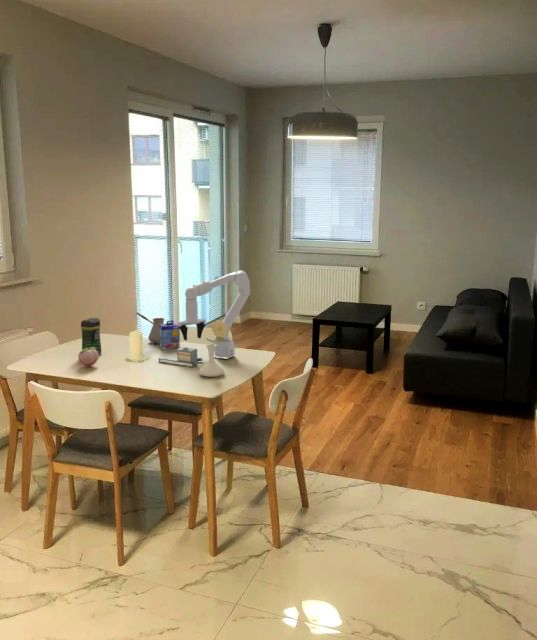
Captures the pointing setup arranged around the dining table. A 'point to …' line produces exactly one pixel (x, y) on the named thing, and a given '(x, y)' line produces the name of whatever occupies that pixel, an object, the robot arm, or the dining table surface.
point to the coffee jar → (91, 334)
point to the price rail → (179, 361)
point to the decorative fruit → (88, 356)
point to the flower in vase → (212, 367)
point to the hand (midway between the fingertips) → (192, 338)
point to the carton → (187, 354)
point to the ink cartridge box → (169, 335)
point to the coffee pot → (154, 328)
